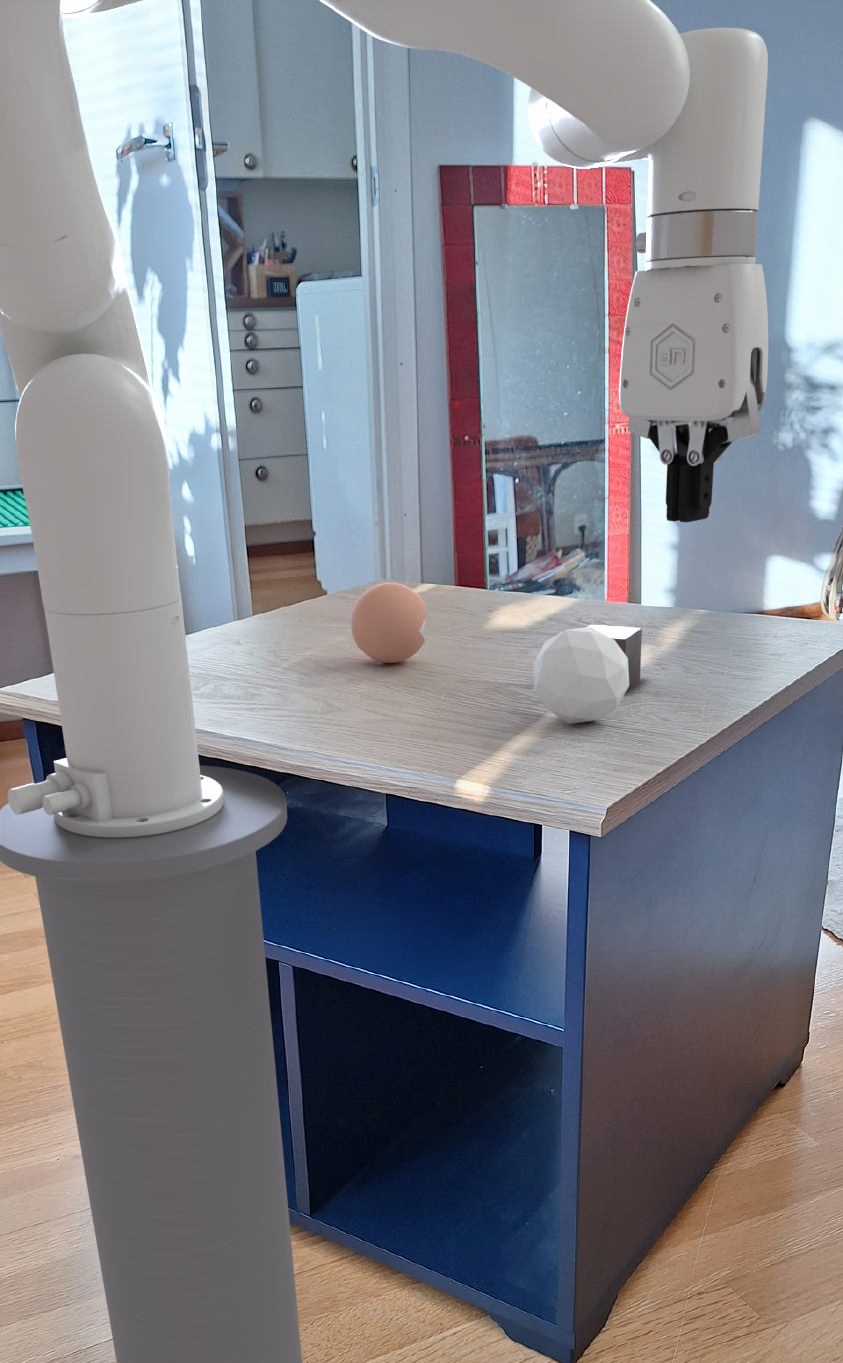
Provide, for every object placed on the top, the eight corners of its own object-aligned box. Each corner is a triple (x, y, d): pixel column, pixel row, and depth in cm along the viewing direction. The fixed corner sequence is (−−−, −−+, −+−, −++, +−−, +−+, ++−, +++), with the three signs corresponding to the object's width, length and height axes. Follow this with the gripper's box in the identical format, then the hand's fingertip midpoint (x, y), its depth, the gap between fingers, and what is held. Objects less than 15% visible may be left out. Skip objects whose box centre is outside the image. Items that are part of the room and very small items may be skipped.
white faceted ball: (546, 698, 102) (479, 685, 113) (620, 745, 106) (548, 728, 117) (593, 610, 102) (521, 605, 113) (665, 661, 106) (589, 652, 117)
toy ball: (445, 659, 132) (443, 581, 128) (394, 675, 126) (390, 593, 123) (388, 650, 137) (384, 574, 133) (336, 664, 131) (331, 585, 128)
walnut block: (624, 694, 117) (625, 639, 115) (571, 689, 119) (572, 635, 117) (640, 681, 121) (642, 627, 119) (589, 677, 123) (590, 624, 121)
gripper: (582, 252, 92) (578, 518, 99) (765, 235, 82) (745, 533, 90) (646, 253, 97) (637, 508, 104) (826, 238, 87) (803, 520, 94)
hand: (687, 519), depth 97 cm, fingers closed
